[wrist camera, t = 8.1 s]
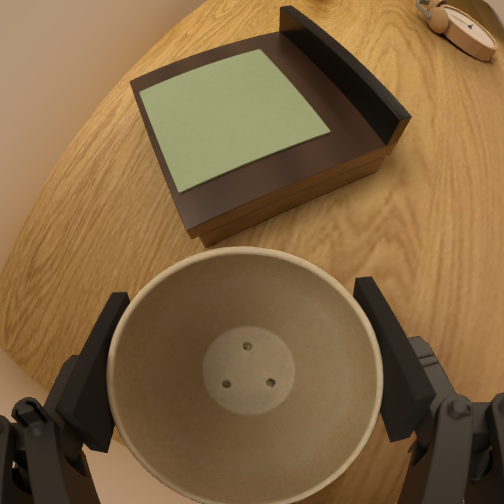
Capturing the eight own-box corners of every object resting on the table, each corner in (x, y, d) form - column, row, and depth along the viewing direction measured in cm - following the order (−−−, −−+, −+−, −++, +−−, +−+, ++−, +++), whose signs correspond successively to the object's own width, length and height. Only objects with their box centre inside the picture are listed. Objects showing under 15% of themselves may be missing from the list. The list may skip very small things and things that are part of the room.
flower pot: (130, 362, 17) (61, 366, 10) (252, 250, 18) (247, 193, 12) (246, 482, 14) (238, 548, 7) (370, 368, 16) (433, 378, 9)
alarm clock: (504, 61, 26) (423, -1, 26) (487, 78, 31) (409, 21, 30) (494, 33, 29) (423, -18, 28) (480, 48, 33) (412, 0, 33)
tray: (198, 251, 22) (172, 209, 15) (142, 109, 26) (118, 57, 20) (381, 169, 23) (412, 116, 17) (287, 57, 28) (291, 5, 21)
